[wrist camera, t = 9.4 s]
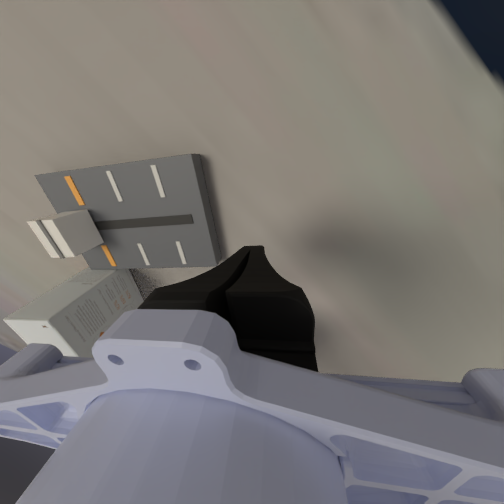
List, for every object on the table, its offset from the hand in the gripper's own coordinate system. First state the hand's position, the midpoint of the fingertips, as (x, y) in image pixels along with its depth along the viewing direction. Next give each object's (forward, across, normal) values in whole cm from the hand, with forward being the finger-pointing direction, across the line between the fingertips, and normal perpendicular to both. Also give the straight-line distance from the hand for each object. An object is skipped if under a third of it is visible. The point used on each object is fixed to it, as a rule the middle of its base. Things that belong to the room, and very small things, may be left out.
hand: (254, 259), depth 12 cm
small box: (+10, +23, +9) cm, 27 cm away
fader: (+7, +21, -1) cm, 22 cm away
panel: (+9, +15, -1) cm, 18 cm away
